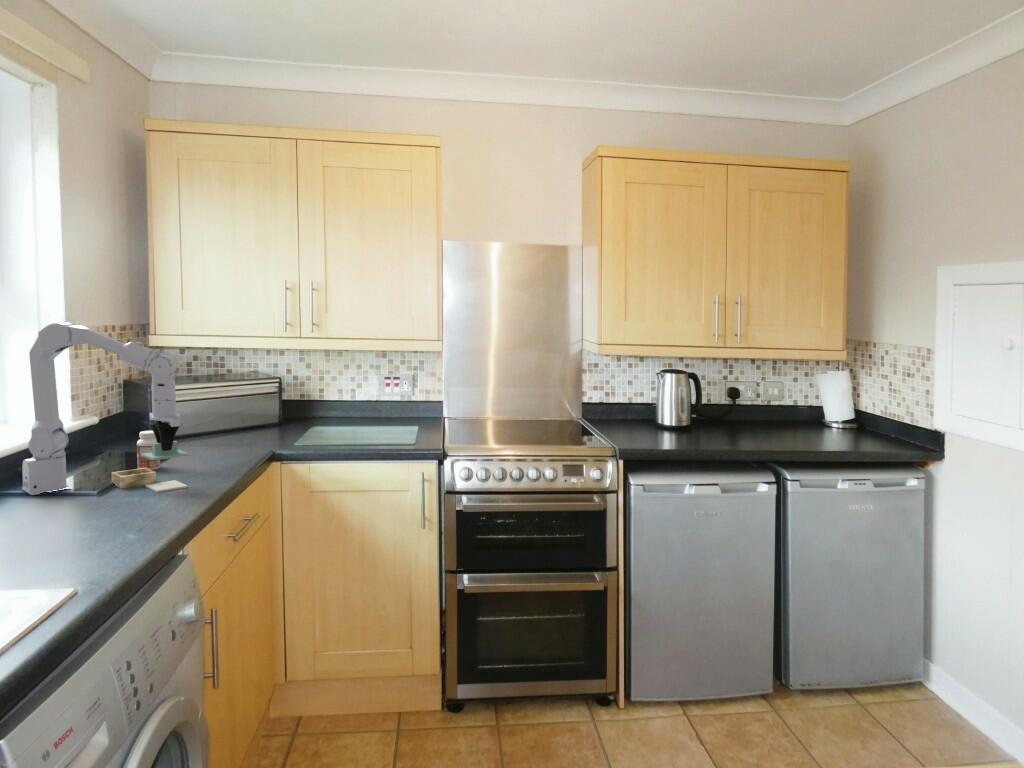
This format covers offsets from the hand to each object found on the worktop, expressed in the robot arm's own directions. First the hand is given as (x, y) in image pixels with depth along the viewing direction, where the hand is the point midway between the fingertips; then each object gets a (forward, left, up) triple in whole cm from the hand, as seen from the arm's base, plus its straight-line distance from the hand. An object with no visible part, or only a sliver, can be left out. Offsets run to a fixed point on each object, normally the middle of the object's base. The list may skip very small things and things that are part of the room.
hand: (165, 449), depth 199 cm
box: (-5, +9, -10) cm, 14 cm away
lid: (0, 0, -2) cm, 2 cm away
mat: (0, 0, -10) cm, 10 cm away
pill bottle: (+5, +24, -10) cm, 27 cm away
